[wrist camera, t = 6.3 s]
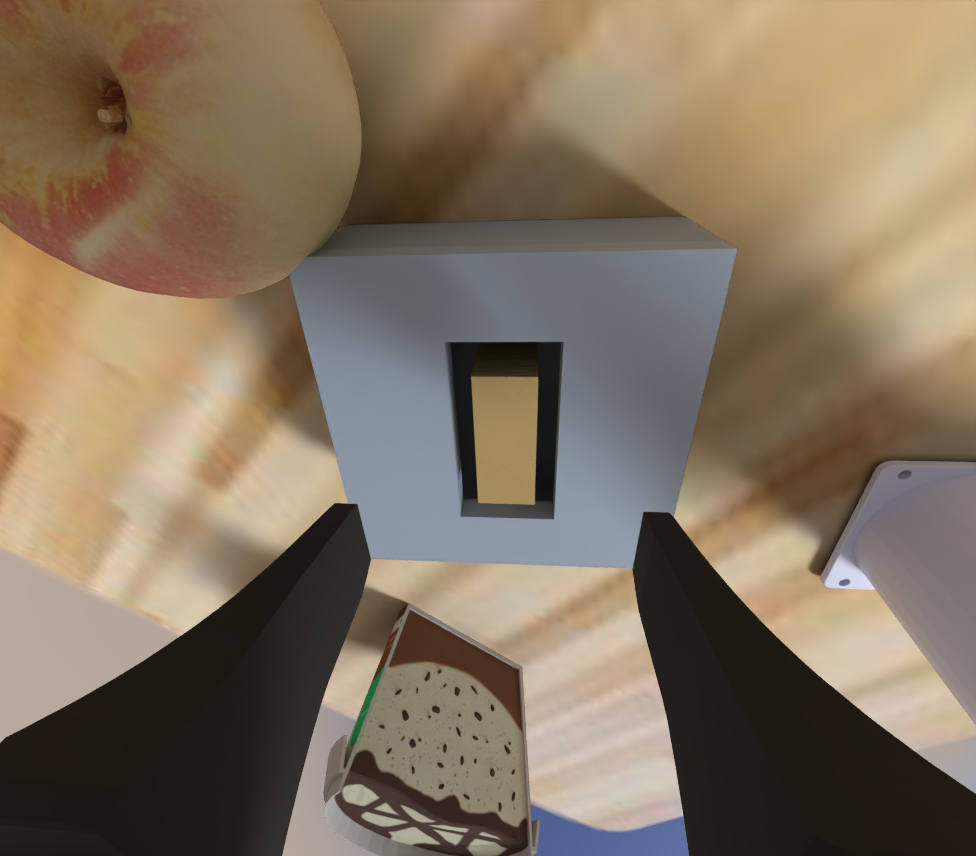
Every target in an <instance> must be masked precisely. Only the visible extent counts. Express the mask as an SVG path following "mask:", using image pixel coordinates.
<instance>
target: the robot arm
mask: <svg viewBox="0 0 976 856" xmlns="http://www.w3.org/2000/svg"><path fill="white" fill-rule="evenodd" d="M902 471H904V472H902ZM900 472H902V473H900ZM899 473H900V474H899ZM370 561H371V557H370V553H369V549H368V545H367V541H366V537H365V533H364V529H363V525H362V521H361V516H360V512H359V508H358V504H341V503H335V504H333V505H332V506H331V507H330V508H329V509H328V510H327V511H326V512H325V513H324V514H323V515H322V516H321V517H320V518H319V519H318V520H317V521H316V522H315V523H314V524H313V525H312V526H311V527H310V528H309V529H308V530H307V531H305V532H304V533H303V534H302V535H301V536H300V537H299V538H298V539H297V540H296V541H295V542H294V543H293V544H292V545H291V546H290V547H289V548H288V549H287V550H286V551H285V552H284V553H282V554H281V555H280V556H279V557H278V558H277V559H276V560H275V561H274V562H273V563H272V564H271V565H270V566H269V567H267V568H266V569H265V570H264V571H263V572H262V573H261V574H259V575H258V576H257V577H256V578H255V579H254V580H252V581H251V582H250V583H249V584H248V585H247V586H246V587H244V588H243V589H242V590H241V591H240V592H239V593H237V594H236V595H235V596H234V597H232V598H231V599H230V600H229V601H227V602H226V603H225V604H224V605H222V606H221V607H220V608H219V609H217V610H216V611H215V612H213V613H212V614H211V615H209V616H208V617H207V618H205V619H204V620H203V621H201V622H200V623H199V624H197V625H196V626H194V627H193V628H192V629H190V630H189V631H187V632H186V633H184V634H183V635H181V636H180V637H179V638H177V639H176V640H174V641H173V642H171V643H170V644H168V645H167V646H165V647H164V648H162V649H161V650H159V651H158V652H156V653H155V654H153V655H152V656H150V657H149V658H147V659H146V660H144V661H143V662H141V663H139V664H138V665H136V666H134V667H133V668H131V669H130V670H128V671H126V672H125V673H123V674H121V675H120V676H118V677H116V678H115V679H113V680H111V681H110V682H108V683H106V684H105V685H103V686H101V687H99V688H98V689H96V690H94V691H93V692H91V693H89V694H87V695H85V696H84V697H82V698H80V699H79V700H77V701H75V702H73V703H71V704H69V705H67V706H65V707H64V708H62V709H60V710H58V711H56V712H54V713H52V714H50V715H48V716H46V717H45V718H43V719H41V720H39V721H37V722H35V723H33V724H32V725H29V726H27V727H26V728H24V729H22V730H20V731H18V732H16V733H14V734H12V735H10V736H8V737H6V738H5V739H4V740H3V741H2V742H1V743H0V856H282V854H283V849H284V844H285V840H286V836H287V831H288V827H289V823H290V819H291V815H292V811H293V807H294V803H295V798H296V794H297V790H298V786H299V782H300V778H301V775H302V771H303V767H304V763H305V759H306V756H307V752H308V748H309V745H310V741H311V737H312V734H313V730H314V727H315V723H316V720H317V716H318V713H319V709H320V706H321V703H322V699H323V696H324V693H325V690H326V688H327V685H328V682H329V679H330V677H331V674H332V671H333V669H334V666H335V664H336V661H337V659H338V656H339V654H340V651H341V649H342V646H343V643H344V641H345V638H346V636H347V633H348V631H349V628H350V626H351V623H352V620H353V618H354V615H355V613H356V610H357V607H358V605H359V602H360V599H361V597H362V593H363V589H364V586H365V582H366V578H367V574H368V569H369V565H370ZM633 576H634V583H635V590H636V597H637V603H638V609H639V613H640V617H641V621H642V624H643V628H644V632H645V636H646V640H647V643H648V647H649V651H650V654H651V658H652V662H653V665H654V669H655V673H656V677H657V680H658V684H659V688H660V691H661V695H662V699H663V703H664V707H665V711H666V716H667V720H668V725H669V731H670V737H671V743H672V748H673V754H674V760H675V766H676V772H677V778H678V784H679V790H680V797H681V803H682V809H683V815H684V822H685V829H686V836H687V843H688V850H689V856H976V794H975V793H973V792H972V791H970V790H969V789H968V788H966V787H965V786H963V785H961V784H960V783H959V782H957V781H956V780H955V779H953V778H951V777H950V776H949V775H947V774H946V773H944V772H943V771H941V770H940V769H938V768H937V767H935V766H934V765H932V764H931V763H930V762H928V761H927V760H926V759H924V758H923V757H921V756H920V755H919V754H917V753H916V752H915V751H913V750H912V749H911V748H909V747H908V746H907V745H905V744H904V743H903V742H901V741H900V740H898V739H897V738H896V737H894V736H893V735H892V734H890V733H889V732H888V731H886V730H885V729H884V728H882V727H881V726H880V725H878V724H877V723H876V722H875V721H873V720H872V719H871V718H870V717H868V716H867V715H866V714H864V713H863V712H862V711H861V710H860V709H858V708H857V707H856V706H855V705H853V704H852V703H851V702H850V701H849V700H847V699H846V698H845V697H844V696H843V695H841V694H840V693H839V692H838V691H836V690H835V689H834V688H833V687H832V686H830V685H829V684H828V683H827V682H826V681H824V680H823V679H822V678H821V677H820V676H818V675H817V674H816V673H815V672H814V671H813V670H812V669H810V668H809V667H808V666H807V665H806V664H805V663H804V662H803V661H802V660H800V659H799V658H798V657H797V656H796V655H795V654H794V653H793V652H792V651H791V650H790V649H789V648H788V647H787V646H786V645H784V644H783V643H782V642H781V641H780V640H779V639H778V638H777V637H776V636H775V635H774V634H773V633H772V632H771V631H770V630H769V629H768V628H767V627H766V626H765V625H764V624H763V623H762V622H761V621H760V620H759V619H758V618H757V616H756V615H755V614H754V613H753V612H752V611H751V610H750V609H749V608H748V607H747V606H746V605H745V604H744V603H743V602H742V600H741V599H740V598H739V597H738V596H737V595H736V594H735V593H734V592H733V590H732V589H731V588H730V587H729V586H728V585H727V583H726V582H725V581H724V580H723V579H722V578H721V576H720V575H719V574H718V573H717V572H716V571H715V569H714V568H713V567H712V566H711V565H710V563H709V562H708V561H707V560H706V559H705V557H704V556H703V555H702V554H701V552H700V551H699V550H698V548H697V547H696V546H695V545H694V543H693V542H692V541H691V540H690V538H689V537H688V536H687V534H686V533H685V532H684V530H683V529H682V528H681V526H680V525H679V524H678V522H677V521H676V520H675V518H674V517H673V516H672V515H671V514H670V513H669V512H643V517H642V522H641V527H640V532H639V538H638V543H637V548H636V553H635V559H634V564H633ZM820 580H821V581H822V583H823V585H824V586H826V587H829V588H845V589H871V590H876V591H877V592H878V594H879V595H880V596H881V598H882V599H883V600H884V602H885V603H886V604H887V606H888V607H889V608H890V610H891V611H892V613H893V614H894V615H895V617H896V618H897V619H898V621H899V622H900V623H901V625H902V626H903V627H904V629H905V630H906V632H907V633H908V634H909V636H910V637H911V638H912V640H913V641H914V642H915V644H916V645H917V646H918V648H919V649H920V651H921V652H922V653H923V655H924V656H925V657H926V659H927V660H928V661H929V663H930V664H931V665H932V667H933V668H934V670H935V671H936V672H937V674H938V675H939V676H940V678H941V679H942V680H943V682H944V683H945V684H946V686H947V687H948V689H949V690H950V691H951V693H952V694H953V695H954V697H955V698H956V699H957V701H958V702H959V703H960V705H961V706H962V708H963V709H964V710H965V712H966V713H967V714H968V716H969V717H970V718H971V720H972V721H973V722H974V724H975V725H976V462H943V461H886V462H884V463H882V464H880V465H879V466H878V467H877V468H876V469H875V471H874V473H873V475H872V477H871V479H870V481H869V483H868V485H867V487H866V489H865V491H864V493H863V495H862V497H861V498H860V500H859V502H858V504H857V506H856V508H855V510H854V512H853V514H852V516H851V518H850V520H849V522H848V524H847V526H846V528H845V530H844V532H843V534H842V536H841V537H840V539H839V541H838V543H837V545H836V547H835V549H834V551H833V553H832V555H831V557H830V559H829V561H828V563H827V565H826V567H825V569H824V571H823V573H822V575H821V577H820Z"/></svg>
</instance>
